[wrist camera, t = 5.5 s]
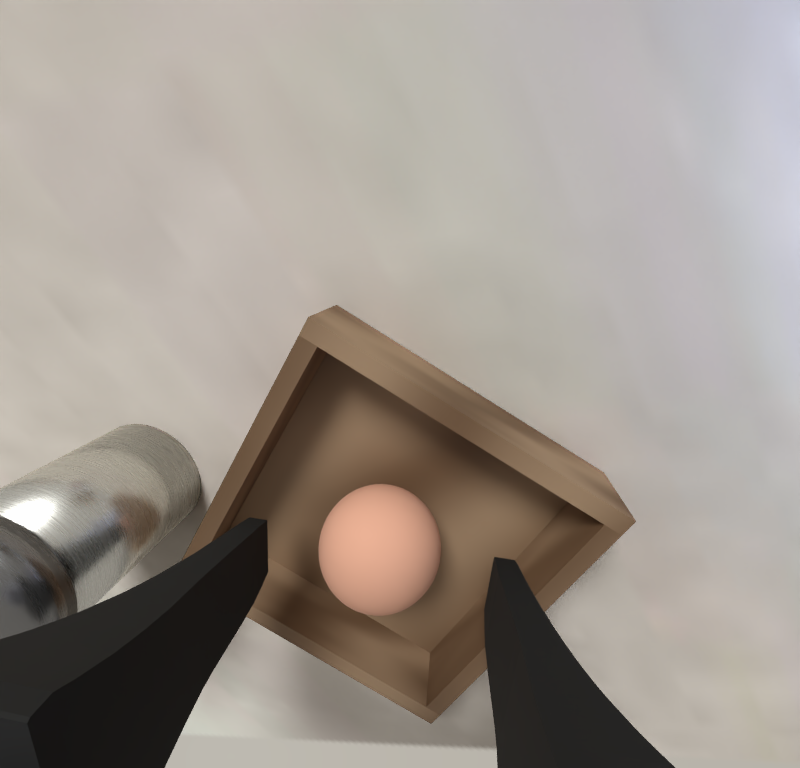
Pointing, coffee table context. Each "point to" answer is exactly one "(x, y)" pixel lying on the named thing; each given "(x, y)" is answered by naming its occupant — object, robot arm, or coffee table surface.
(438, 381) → the tray
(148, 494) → the shaker
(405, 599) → the ball
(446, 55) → the coffee table surface
